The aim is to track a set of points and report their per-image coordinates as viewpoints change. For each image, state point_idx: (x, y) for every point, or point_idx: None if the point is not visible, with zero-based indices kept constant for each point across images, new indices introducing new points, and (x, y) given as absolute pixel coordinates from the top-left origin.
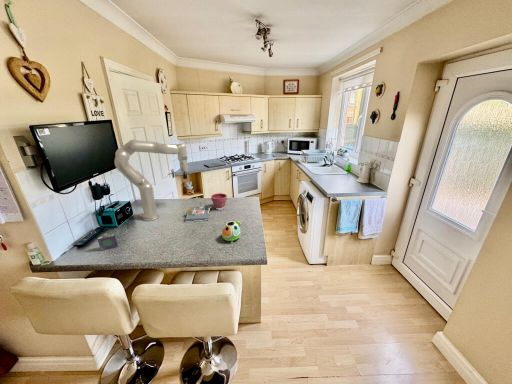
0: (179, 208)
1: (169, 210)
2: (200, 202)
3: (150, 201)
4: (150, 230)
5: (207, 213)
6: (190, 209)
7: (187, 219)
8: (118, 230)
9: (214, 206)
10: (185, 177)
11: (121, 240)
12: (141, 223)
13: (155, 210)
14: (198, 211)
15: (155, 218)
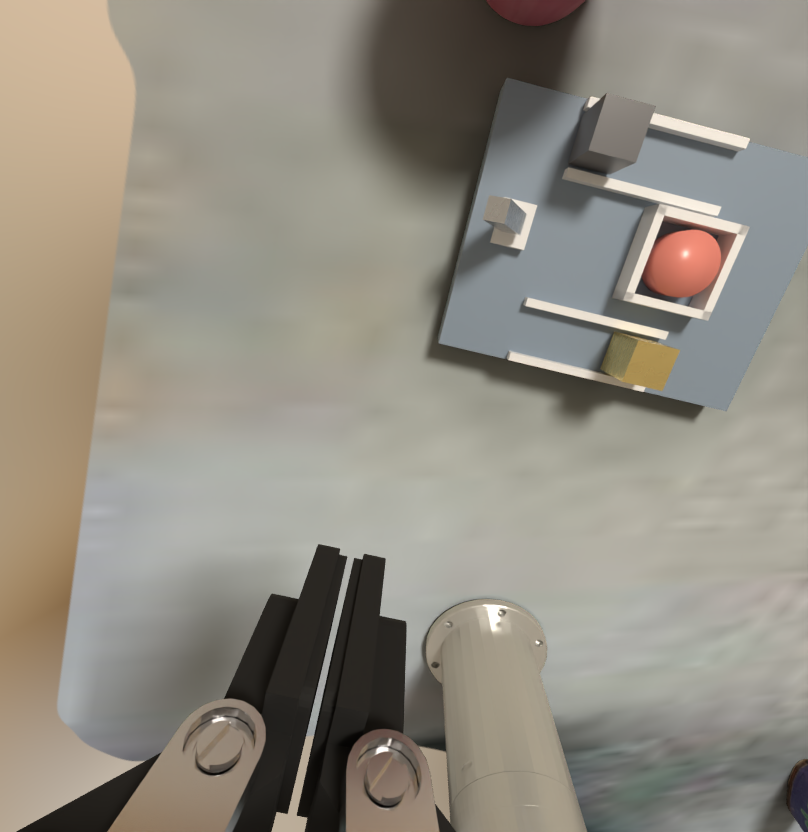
0: (364, 449)
1: (383, 531)
2: (510, 213)
3: (577, 805)
4: (706, 635)
5: (717, 153)
6: (658, 361)
7: (733, 388)
8: (597, 783)
9: (567, 9)
10: (403, 645)
11: (745, 754)
12: (557, 691)
13: (519, 670)
14: (691, 264)
15: (538, 625)
